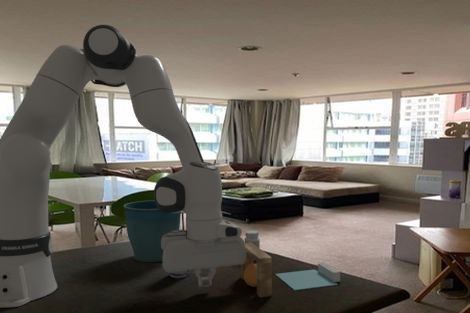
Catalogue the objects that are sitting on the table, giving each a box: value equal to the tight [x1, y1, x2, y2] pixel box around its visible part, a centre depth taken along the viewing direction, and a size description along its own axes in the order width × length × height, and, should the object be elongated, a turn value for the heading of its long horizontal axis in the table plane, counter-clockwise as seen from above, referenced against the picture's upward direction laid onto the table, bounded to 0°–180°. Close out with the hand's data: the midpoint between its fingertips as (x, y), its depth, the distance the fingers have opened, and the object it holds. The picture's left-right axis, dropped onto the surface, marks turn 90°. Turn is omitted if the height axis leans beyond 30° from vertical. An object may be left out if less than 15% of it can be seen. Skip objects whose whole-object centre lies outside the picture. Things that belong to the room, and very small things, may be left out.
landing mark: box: [274, 269, 339, 292], centre depth 103 cm, size 12×12×1 cm
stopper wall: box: [317, 262, 341, 283], centre depth 105 cm, size 2×8×2 cm, turn 17°
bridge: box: [240, 242, 273, 298], centre depth 99 cm, size 3×14×9 cm, turn 17°
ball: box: [243, 263, 257, 288], centre depth 99 cm, size 6×6×6 cm
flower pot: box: [123, 200, 182, 263], centre depth 124 cm, size 18×18×17 cm
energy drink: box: [169, 229, 190, 279], centre depth 107 cm, size 5×5×12 cm
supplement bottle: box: [243, 229, 261, 261], centre depth 122 cm, size 5×5×8 cm
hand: (205, 285), depth 95 cm, fingers closed
